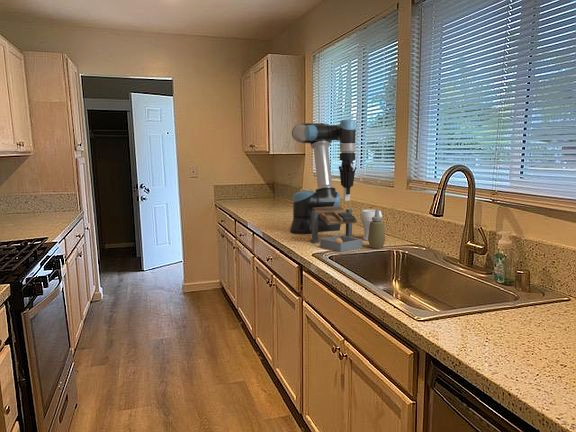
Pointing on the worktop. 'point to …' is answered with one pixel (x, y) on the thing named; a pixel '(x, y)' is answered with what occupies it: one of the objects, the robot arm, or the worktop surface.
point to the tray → (346, 245)
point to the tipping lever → (332, 218)
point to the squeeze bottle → (376, 231)
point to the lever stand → (315, 227)
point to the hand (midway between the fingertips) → (346, 200)
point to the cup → (367, 220)
